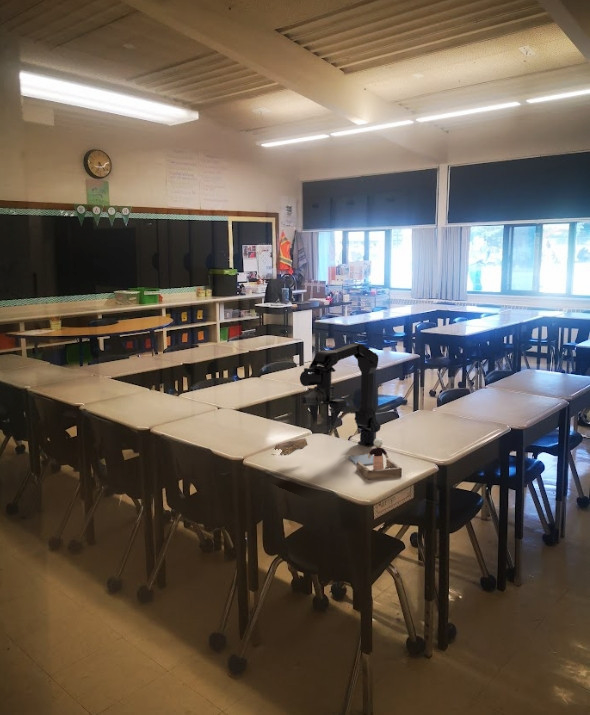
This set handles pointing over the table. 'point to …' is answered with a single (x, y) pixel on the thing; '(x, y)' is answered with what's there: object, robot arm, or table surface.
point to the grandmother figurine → (378, 455)
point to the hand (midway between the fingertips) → (323, 423)
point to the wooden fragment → (291, 446)
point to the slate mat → (362, 459)
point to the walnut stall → (380, 471)
